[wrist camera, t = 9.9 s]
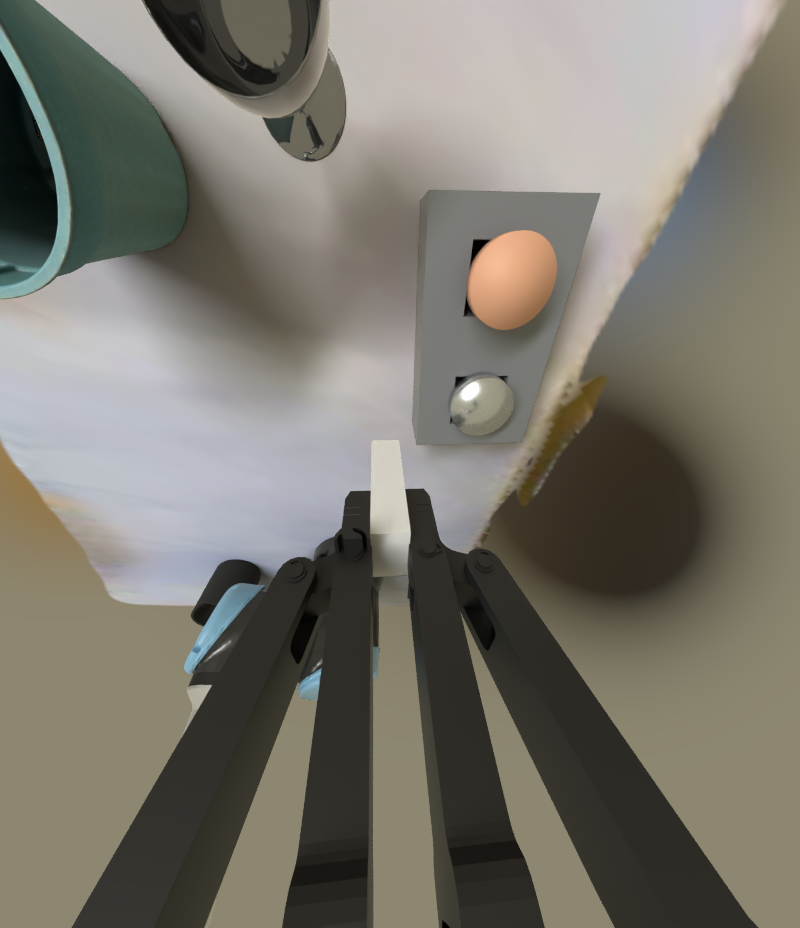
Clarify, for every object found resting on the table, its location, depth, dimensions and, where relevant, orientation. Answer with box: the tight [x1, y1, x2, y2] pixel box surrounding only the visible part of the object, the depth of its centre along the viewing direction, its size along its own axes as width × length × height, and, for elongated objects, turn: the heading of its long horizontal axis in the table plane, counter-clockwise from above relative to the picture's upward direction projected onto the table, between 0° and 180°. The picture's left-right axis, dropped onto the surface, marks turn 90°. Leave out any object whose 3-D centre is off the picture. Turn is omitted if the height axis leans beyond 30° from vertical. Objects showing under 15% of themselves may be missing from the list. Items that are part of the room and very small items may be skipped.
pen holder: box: [191, 560, 261, 626], centre depth 57 cm, size 9×9×10 cm
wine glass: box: [142, 0, 346, 161], centre depth 17 cm, size 8×8×15 cm
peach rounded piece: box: [466, 230, 557, 330], centre depth 26 cm, size 7×7×7 cm
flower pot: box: [0, 0, 188, 299], centre depth 18 cm, size 16×16×16 cm
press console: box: [412, 190, 600, 445], centre depth 32 cm, size 24×14×6 cm, turn 0°
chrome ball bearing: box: [448, 372, 514, 436], centre depth 35 cm, size 7×7×7 cm
